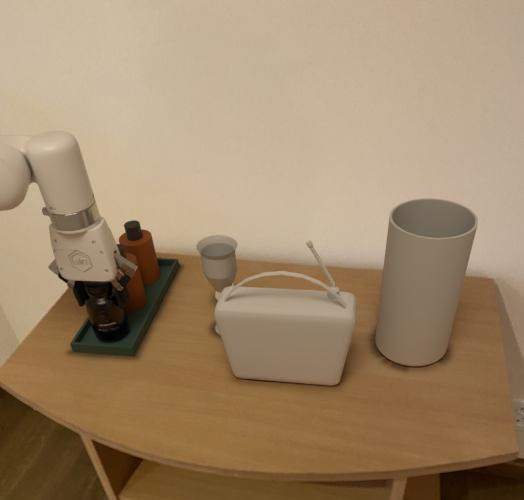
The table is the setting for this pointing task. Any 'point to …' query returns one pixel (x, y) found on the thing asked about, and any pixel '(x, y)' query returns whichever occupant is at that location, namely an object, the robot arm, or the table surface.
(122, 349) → the tray
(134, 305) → the amber bottle middle
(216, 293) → the lidless jar
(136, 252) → the amber bottle far
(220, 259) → the chalice
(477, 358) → the table surface
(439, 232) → the cylinder vase
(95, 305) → the supplement bottle
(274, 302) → the radio
